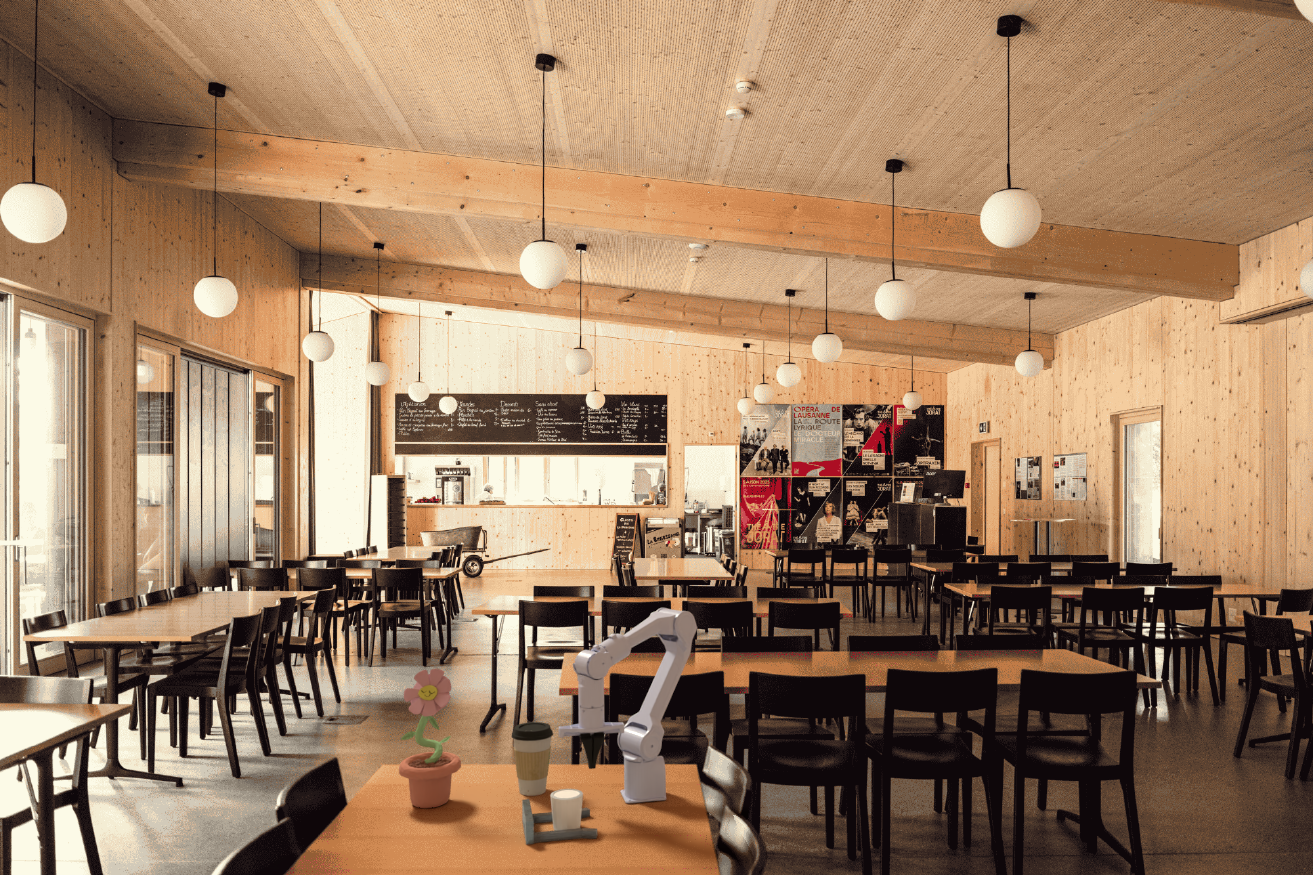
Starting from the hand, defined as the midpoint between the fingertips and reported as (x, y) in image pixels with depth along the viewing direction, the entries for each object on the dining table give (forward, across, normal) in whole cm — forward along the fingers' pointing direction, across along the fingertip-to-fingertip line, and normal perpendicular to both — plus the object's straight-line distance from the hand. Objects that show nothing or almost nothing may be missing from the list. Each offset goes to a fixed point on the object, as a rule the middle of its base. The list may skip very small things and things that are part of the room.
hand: (591, 767), depth 196 cm
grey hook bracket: (+9, +9, +9) cm, 16 cm away
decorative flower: (+10, +36, -14) cm, 40 cm away
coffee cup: (+10, +12, -16) cm, 22 cm away
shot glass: (+10, +6, +8) cm, 14 cm away
